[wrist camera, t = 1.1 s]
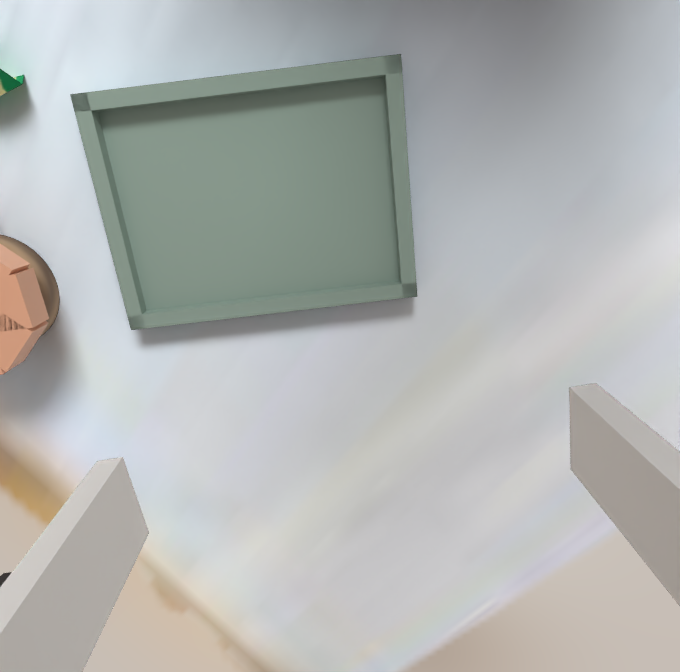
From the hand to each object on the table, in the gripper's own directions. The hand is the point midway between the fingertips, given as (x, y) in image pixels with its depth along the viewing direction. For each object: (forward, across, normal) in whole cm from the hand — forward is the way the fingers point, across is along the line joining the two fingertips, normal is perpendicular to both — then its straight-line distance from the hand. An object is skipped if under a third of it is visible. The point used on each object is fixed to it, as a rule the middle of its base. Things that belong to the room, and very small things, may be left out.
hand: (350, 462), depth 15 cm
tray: (+23, -4, +7) cm, 24 cm away
